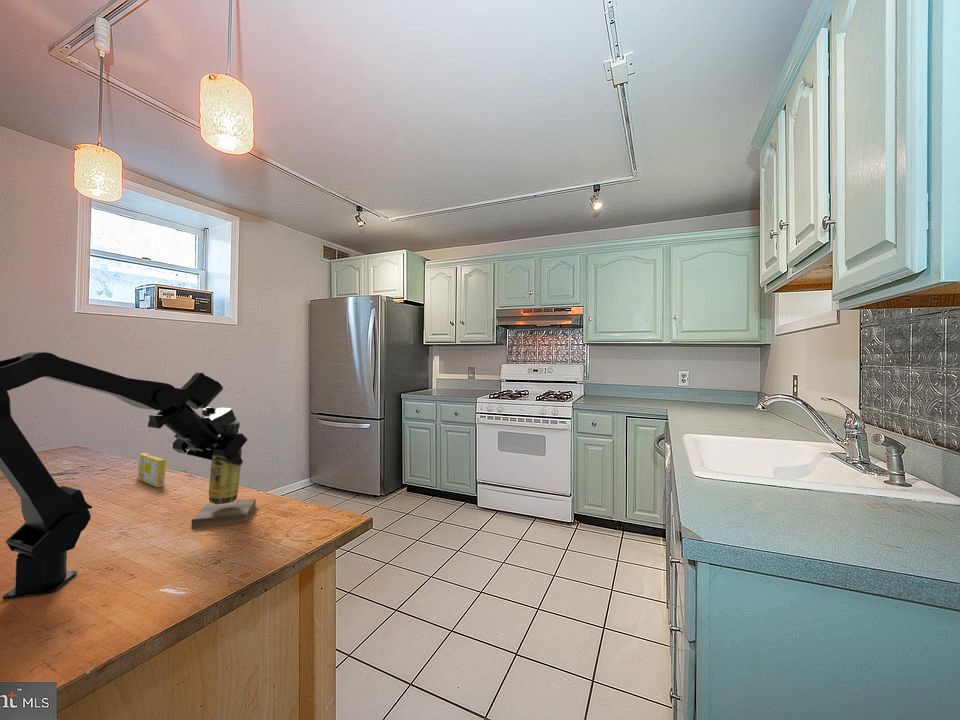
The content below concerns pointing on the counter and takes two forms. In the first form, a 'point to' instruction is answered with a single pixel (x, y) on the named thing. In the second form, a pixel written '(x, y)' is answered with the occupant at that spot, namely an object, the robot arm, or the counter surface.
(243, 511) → the trivet
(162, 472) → the candy box
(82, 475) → the counter surface
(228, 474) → the sauce bottle
